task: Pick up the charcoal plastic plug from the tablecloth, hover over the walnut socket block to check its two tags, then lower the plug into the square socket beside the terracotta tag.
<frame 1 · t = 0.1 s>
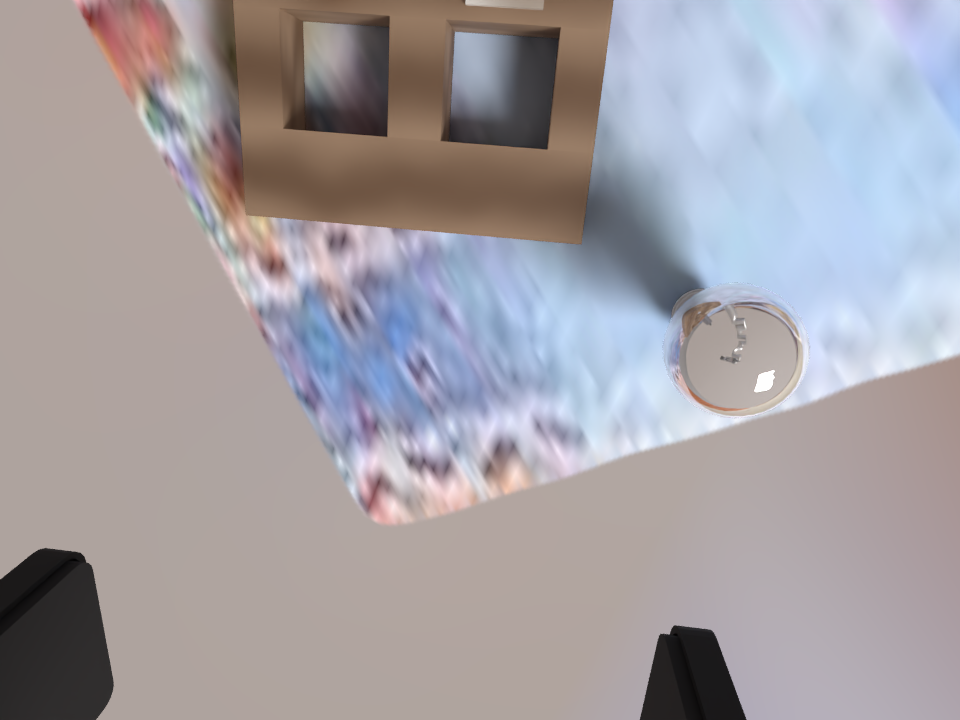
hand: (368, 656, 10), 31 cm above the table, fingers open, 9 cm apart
light bulb: (691, 308, 39), on the table
socket block: (426, 86, 35), on the table
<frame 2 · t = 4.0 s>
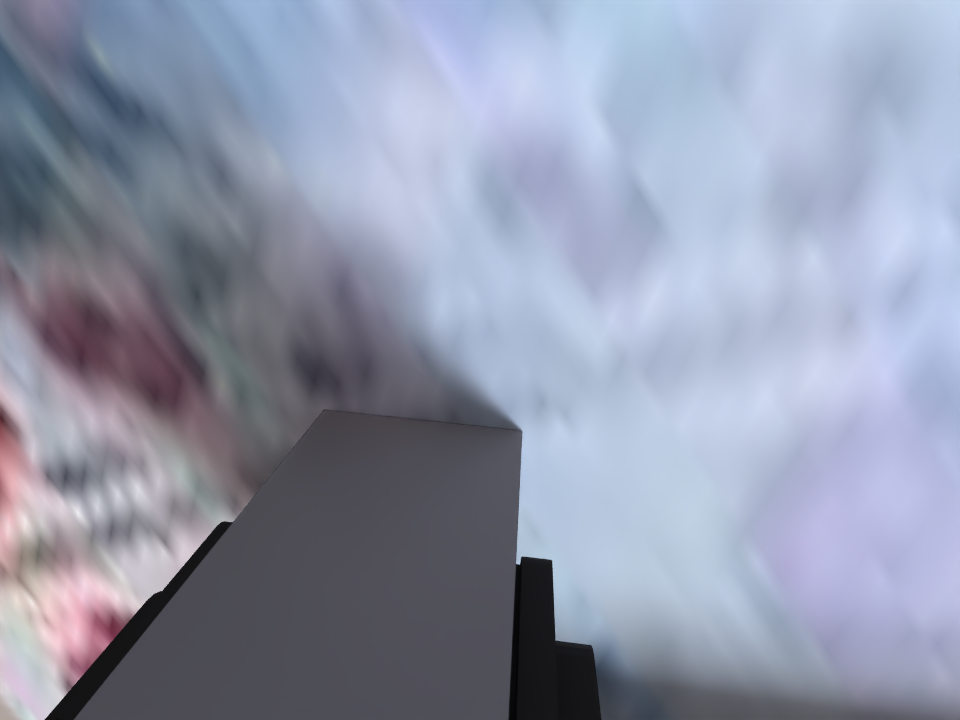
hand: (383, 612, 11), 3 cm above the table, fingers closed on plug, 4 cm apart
plug: (418, 505, 14), on the table, touching gripper
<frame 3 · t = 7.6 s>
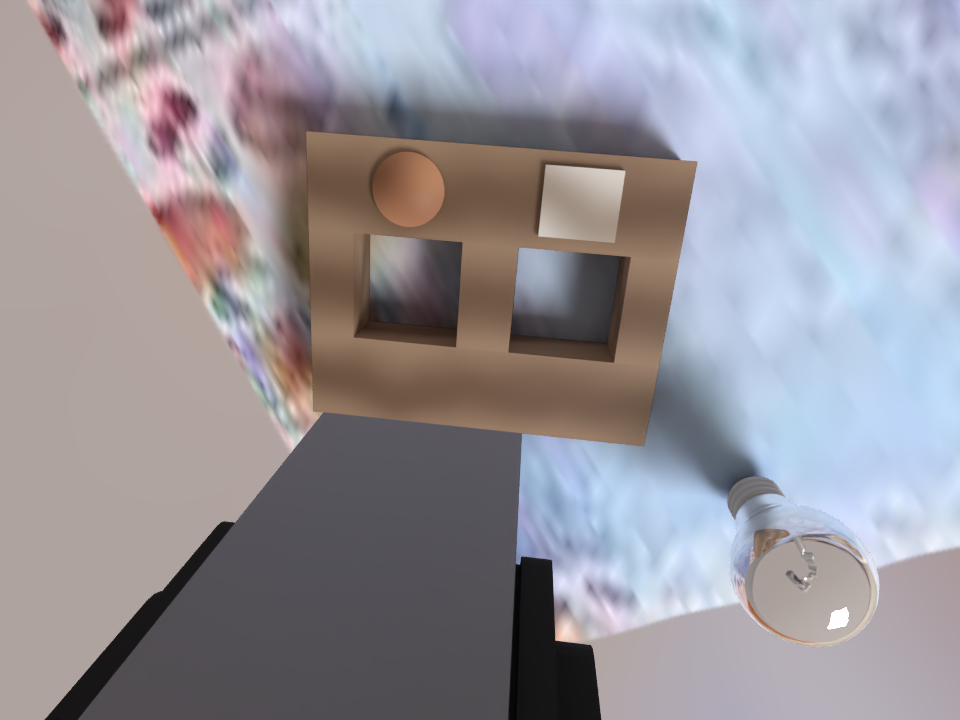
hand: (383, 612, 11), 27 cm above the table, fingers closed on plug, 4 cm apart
light bulb: (745, 486, 39), on the table
socket block: (490, 285, 36), on the table
plug: (418, 507, 14), point 24 cm above the table, touching gripper
when the fingers open (5 cm above the table, at t = 11.1 s): plug drops 1 cm, resting in socket block.
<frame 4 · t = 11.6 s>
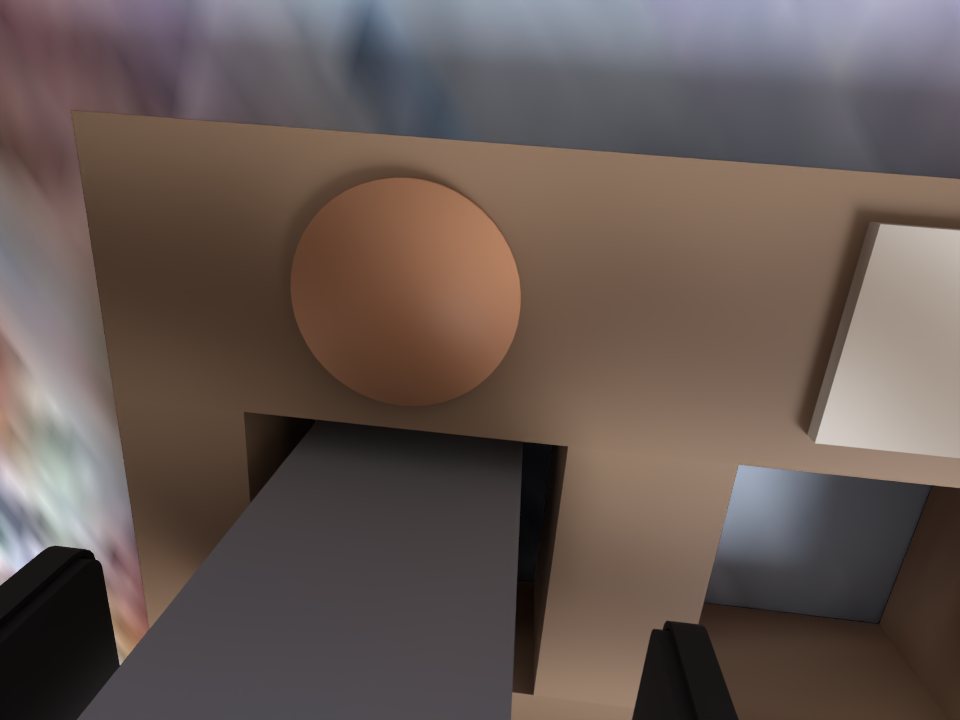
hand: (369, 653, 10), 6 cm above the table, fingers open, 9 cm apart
socket block: (606, 493, 15), on the table
plug: (429, 473, 15), resting in socket block
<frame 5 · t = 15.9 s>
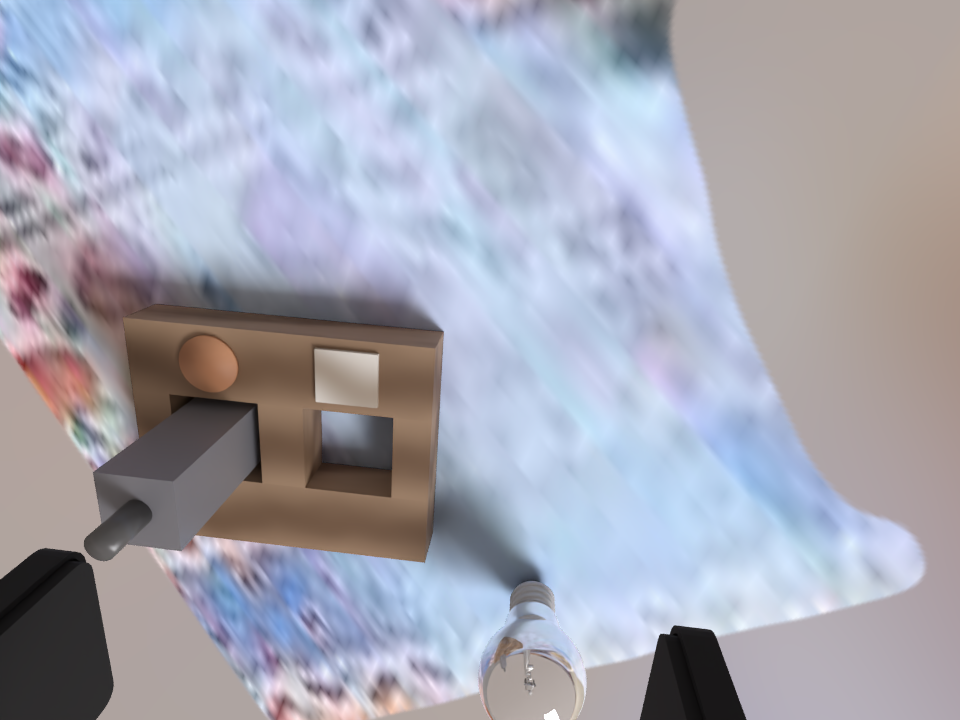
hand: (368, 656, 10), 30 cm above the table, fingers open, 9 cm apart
light bulb: (532, 585, 46), on the table
socket block: (301, 423, 43), on the table
plug: (241, 417, 43), resting in socket block
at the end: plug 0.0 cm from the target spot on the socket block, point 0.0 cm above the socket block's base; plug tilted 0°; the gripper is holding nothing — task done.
